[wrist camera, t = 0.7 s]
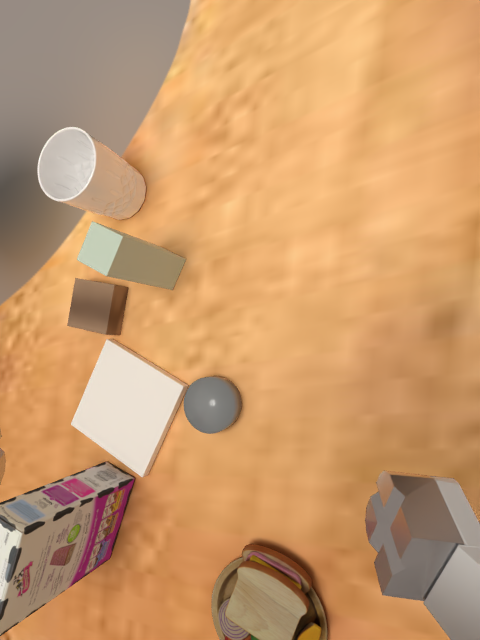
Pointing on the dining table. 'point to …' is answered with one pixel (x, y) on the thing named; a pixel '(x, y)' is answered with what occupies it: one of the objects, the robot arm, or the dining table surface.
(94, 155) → the white cup
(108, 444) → the plate
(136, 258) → the sage block
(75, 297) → the walnut block
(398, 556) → the robot arm
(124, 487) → the candy bar box
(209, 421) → the grey domed disc
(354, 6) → the dining table surface
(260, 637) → the toy sandwich meal
